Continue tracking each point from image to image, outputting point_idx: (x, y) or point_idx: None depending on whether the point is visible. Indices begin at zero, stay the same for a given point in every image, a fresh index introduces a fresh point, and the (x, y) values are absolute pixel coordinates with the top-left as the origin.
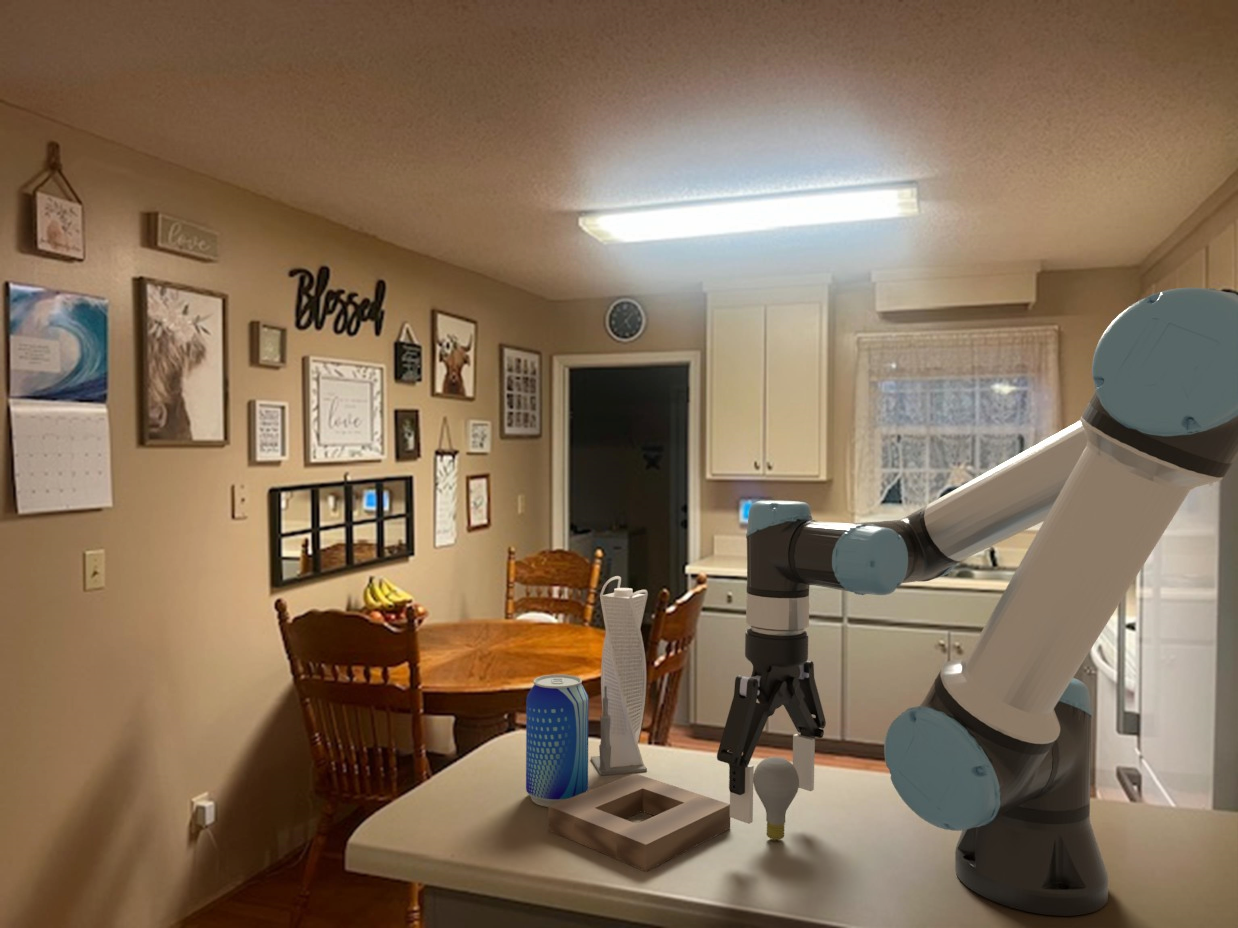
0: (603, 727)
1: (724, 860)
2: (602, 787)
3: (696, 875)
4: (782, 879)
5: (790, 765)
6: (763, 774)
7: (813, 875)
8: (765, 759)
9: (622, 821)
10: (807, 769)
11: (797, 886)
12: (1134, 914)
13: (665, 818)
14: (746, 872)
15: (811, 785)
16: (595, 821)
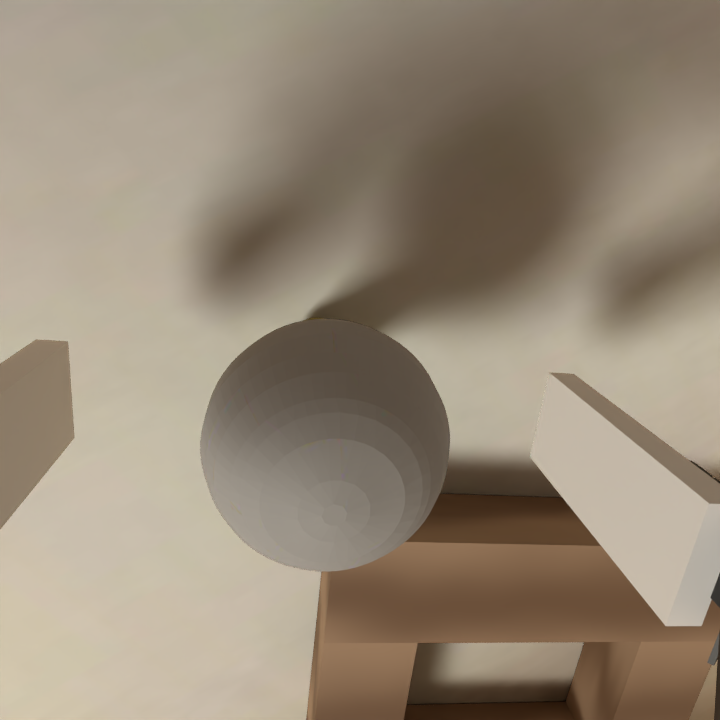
0: None
1: (544, 388)
2: None
3: (668, 397)
4: (575, 183)
5: (314, 411)
6: (442, 483)
7: (494, 105)
8: (361, 553)
9: (642, 673)
10: (20, 403)
11: (598, 117)
12: None
13: (564, 612)
14: (585, 298)
15: (51, 349)
16: (676, 713)
